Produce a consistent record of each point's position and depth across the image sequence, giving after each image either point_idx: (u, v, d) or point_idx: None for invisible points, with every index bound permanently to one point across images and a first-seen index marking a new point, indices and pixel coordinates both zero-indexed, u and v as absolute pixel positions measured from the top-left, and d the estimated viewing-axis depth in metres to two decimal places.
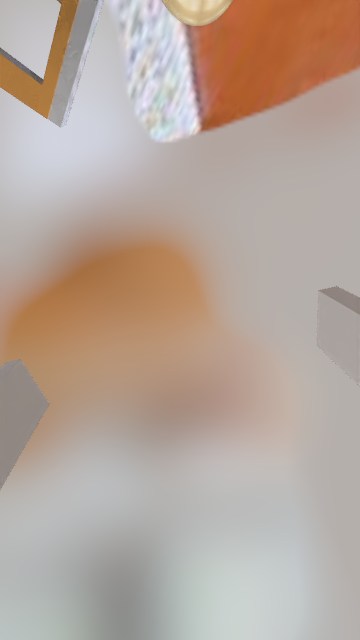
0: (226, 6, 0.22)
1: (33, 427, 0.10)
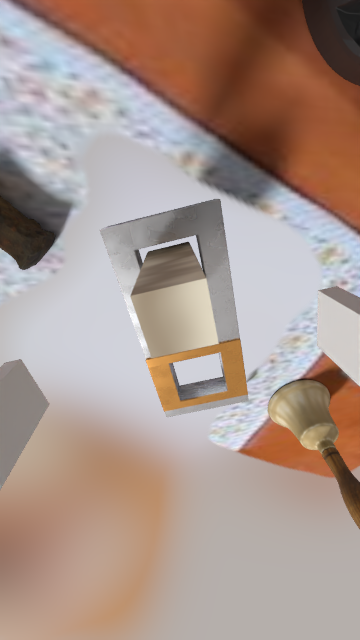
0: None
1: (33, 427, 0.10)
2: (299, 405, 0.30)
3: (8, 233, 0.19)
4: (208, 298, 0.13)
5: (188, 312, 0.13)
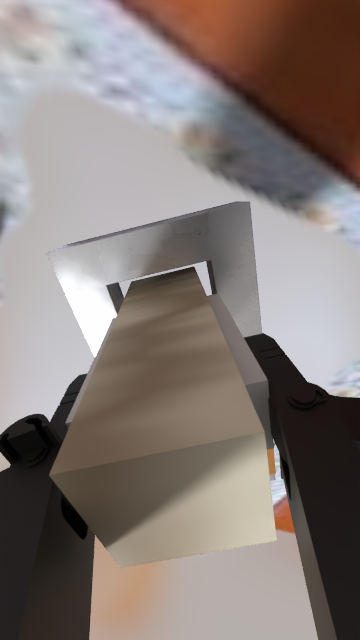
0: None
1: None
2: None
3: None
4: (263, 470, 0.05)
5: (208, 498, 0.05)
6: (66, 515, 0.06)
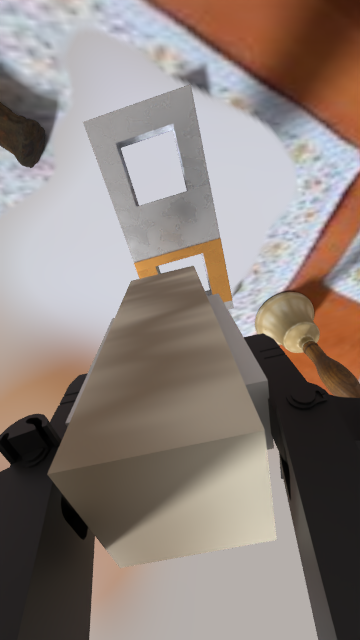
0: (280, 344, 0.36)
1: None
2: (282, 313, 0.31)
3: (2, 123, 0.21)
4: (263, 469, 0.05)
5: (208, 497, 0.05)
6: (66, 515, 0.06)
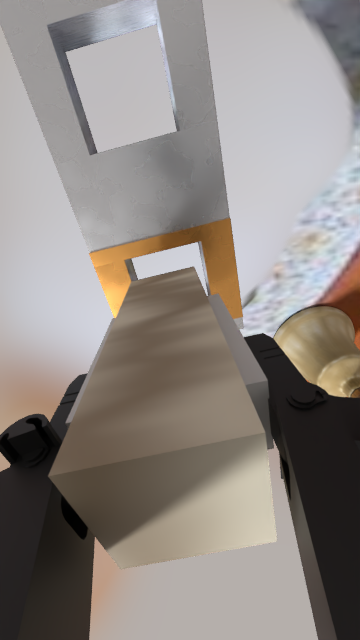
0: None
1: None
2: (315, 337, 0.21)
3: None
4: (264, 471, 0.05)
5: (208, 499, 0.05)
6: (66, 515, 0.06)
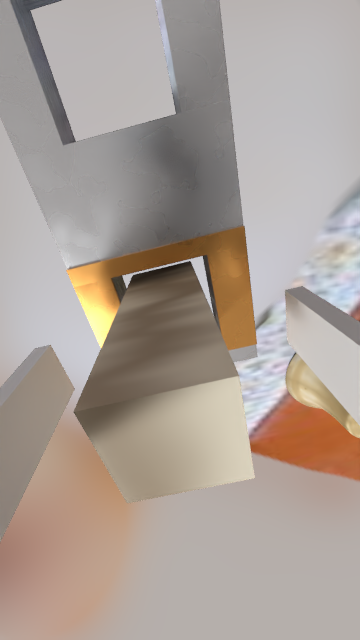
0: None
1: (62, 408, 0.11)
2: None
3: None
4: (240, 410, 0.06)
5: (197, 435, 0.06)
6: None
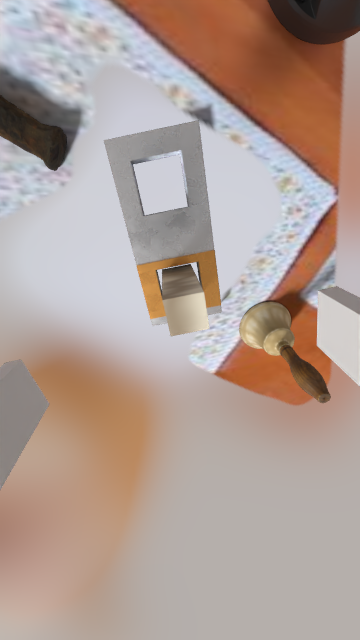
0: (260, 348, 0.40)
1: (33, 427, 0.10)
2: (264, 319, 0.36)
3: (31, 131, 0.24)
4: (204, 302, 0.24)
5: (193, 310, 0.24)
6: None
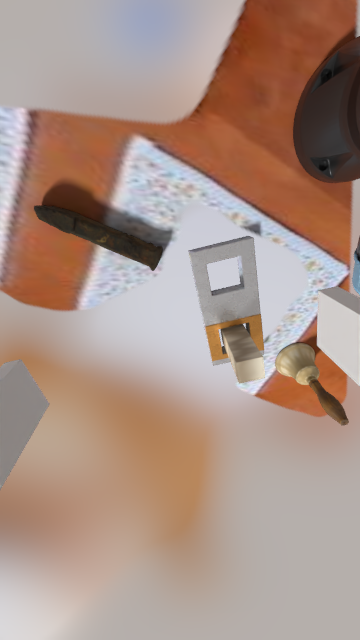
0: (291, 376, 0.52)
1: (33, 427, 0.10)
2: (295, 358, 0.48)
3: (145, 253, 0.37)
4: (262, 363, 0.36)
5: (255, 367, 0.36)
6: None
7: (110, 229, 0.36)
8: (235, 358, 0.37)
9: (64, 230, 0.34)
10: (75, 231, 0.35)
